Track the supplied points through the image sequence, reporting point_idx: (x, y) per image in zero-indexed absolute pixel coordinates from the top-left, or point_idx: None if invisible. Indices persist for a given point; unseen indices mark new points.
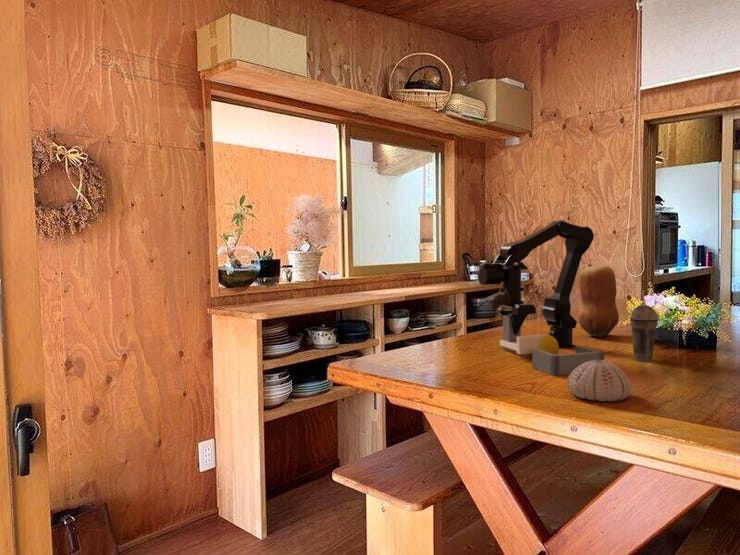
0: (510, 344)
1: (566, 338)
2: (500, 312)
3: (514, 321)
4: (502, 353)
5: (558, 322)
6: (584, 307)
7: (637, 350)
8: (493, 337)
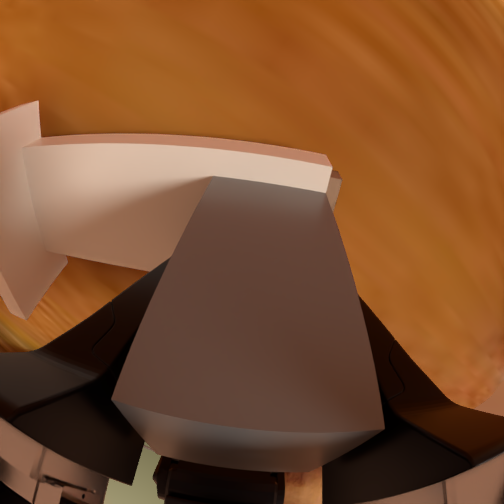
0: (148, 142)
1: None
2: (442, 455)
3: (71, 334)
4: (180, 71)
5: None
6: (295, 501)
7: None
8: (500, 308)
